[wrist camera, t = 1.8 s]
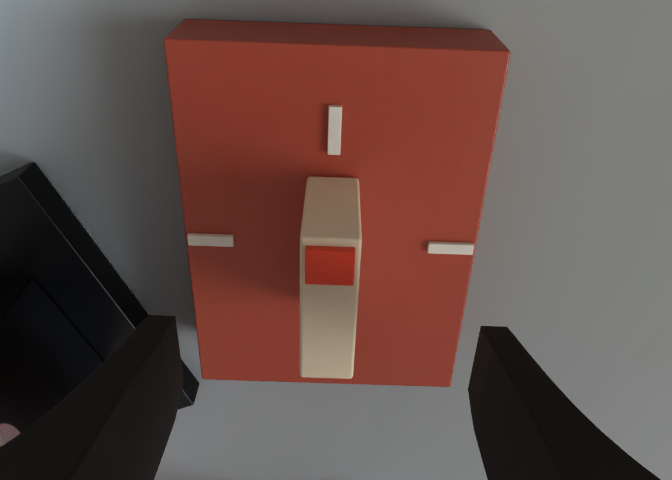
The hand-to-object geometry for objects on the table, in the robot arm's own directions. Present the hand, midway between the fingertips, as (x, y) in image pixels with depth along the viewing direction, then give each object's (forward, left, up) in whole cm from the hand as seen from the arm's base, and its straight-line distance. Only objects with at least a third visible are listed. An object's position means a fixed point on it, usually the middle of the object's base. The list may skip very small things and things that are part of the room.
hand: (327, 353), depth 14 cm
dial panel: (0, 0, -8) cm, 8 cm away
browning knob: (0, 0, -5) cm, 5 cm away
